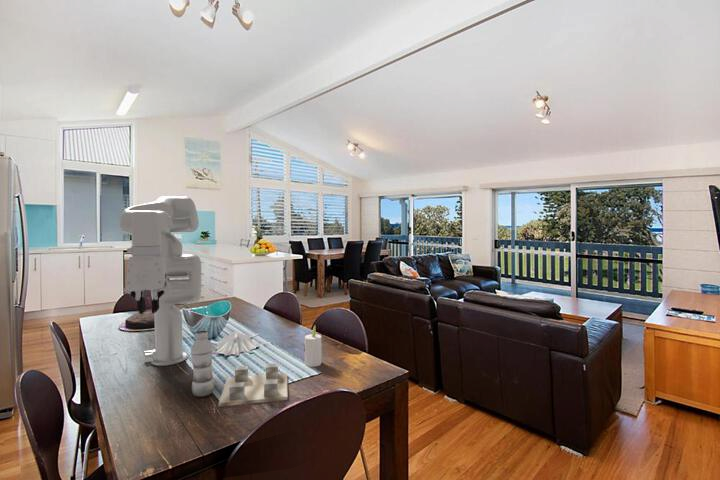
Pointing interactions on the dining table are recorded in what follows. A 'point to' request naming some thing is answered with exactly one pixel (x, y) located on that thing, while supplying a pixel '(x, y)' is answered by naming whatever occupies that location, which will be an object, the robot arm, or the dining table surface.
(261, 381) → the cradle
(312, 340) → the candle
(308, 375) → the dining table surface
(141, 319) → the chocolate cake
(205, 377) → the plastic bottle
